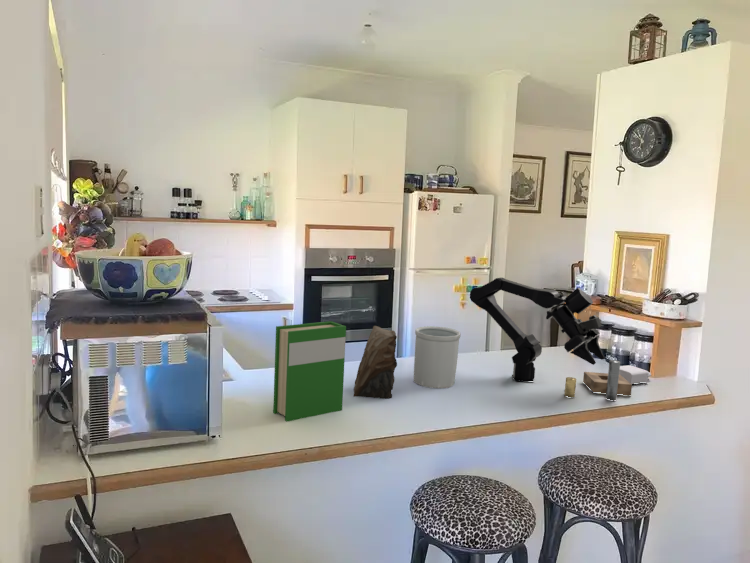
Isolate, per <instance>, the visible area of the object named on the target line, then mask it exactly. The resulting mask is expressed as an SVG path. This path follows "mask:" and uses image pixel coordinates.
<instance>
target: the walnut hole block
mask: <svg viewBox="0 0 750 563" xmlns="http://www.w3.org/2000/svg"><path fill="white" fill-rule="evenodd" d="M582 380H583V381H582V383H583V382H584V383H585V384H586V385H587V386H588V387H589V388H590V389H591V390H592V391H593V392H601V393H606V389H607V380H608V372H593V371H583V379H582ZM632 387H633V385H632V384H631V383H629V382H628V381H627V380H626V379H625V378H623V377H622V376H621V375H620V374H619V379H618V388H617V394H623V395H631V396H632Z"/></svg>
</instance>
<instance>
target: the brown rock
mask: <svg viewBox="0 0 750 563" xmlns="http://www.w3.org/2000/svg"><path fill="white" fill-rule="evenodd" d="M396 348H397V333H396V332H395V330H391V329H384V328H382V327H380V326H377V325H373V326H372V329H371V332H370V335H369V336H368V339H367V341H366V345H365V348H364V350H363V354H362V357H361V361H360V362H359V365H358V370H357V372H356V373H357V374H356V377H355V378H356V379H355V380H354V385H353V386H354V387H353V398H354V397H356V398H357V397H358V398H371V399H383V400H387V399H388V400H389V399H393V393H392V390H393V388H394V385H395V384H394V383H395V370H396V368H397V367H398V362H397V361H398V360H397V358H396Z"/></svg>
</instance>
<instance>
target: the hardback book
mask: <svg viewBox="0 0 750 563" xmlns="http://www.w3.org/2000/svg"><path fill="white" fill-rule="evenodd" d="M346 335H347V326H346V325H344V324H343V325H342V324H341V323H338V322H335V321H332V320H331V321H330V320H329V321H321V322H319V321H318V322H309V323H299V324H289V325H278V326H277V325H276V327H275V342H274V343H275V347H274V372H273V373H274V378H273V379H274V380H273V407H272V409H273V410H272V413H273V414H274V415H276V414H281V415H282V416H284V421H285V422H287V423H288V422H292V421H296V420H301V419H307V418H310V417H311V418H312V417H317V416H321V415H324V414H325V415H326V414H329V413H335V412H340V411H343V398H344V396H343V395H344V380H345V379H344V376H345V356H346V338H347V336H346Z"/></svg>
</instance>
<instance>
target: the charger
mask: <svg viewBox="0 0 750 563" xmlns="http://www.w3.org/2000/svg"><path fill="white" fill-rule="evenodd" d="M619 374H620V375H621V376H622V377H623V378H625V379H626V380H627V381H628V382H629V383H631V384H634V383H640V382H647V383H648V381H649V377H651V376H652V372H649V371H648V370H645V369H642V368H641V367H637V366H633V365H620V370H619Z"/></svg>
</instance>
